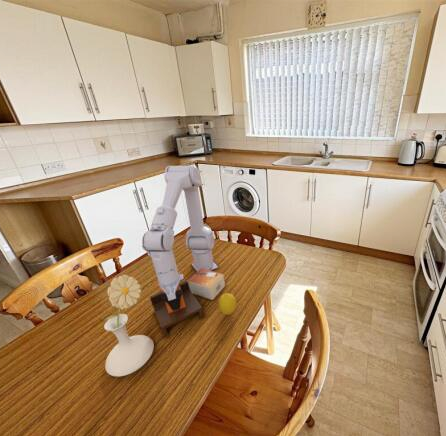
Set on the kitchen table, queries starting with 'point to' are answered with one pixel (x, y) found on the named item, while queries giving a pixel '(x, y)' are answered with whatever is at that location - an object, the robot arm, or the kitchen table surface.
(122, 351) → the flower in vase
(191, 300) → the toy bench
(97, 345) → the kitchen table surface
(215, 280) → the small box
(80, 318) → the kitchen table surface
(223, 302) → the lemon
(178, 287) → the package
